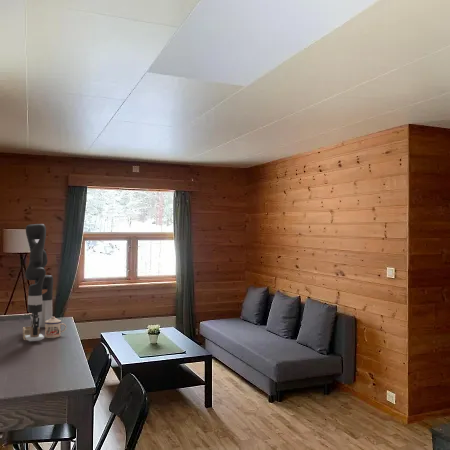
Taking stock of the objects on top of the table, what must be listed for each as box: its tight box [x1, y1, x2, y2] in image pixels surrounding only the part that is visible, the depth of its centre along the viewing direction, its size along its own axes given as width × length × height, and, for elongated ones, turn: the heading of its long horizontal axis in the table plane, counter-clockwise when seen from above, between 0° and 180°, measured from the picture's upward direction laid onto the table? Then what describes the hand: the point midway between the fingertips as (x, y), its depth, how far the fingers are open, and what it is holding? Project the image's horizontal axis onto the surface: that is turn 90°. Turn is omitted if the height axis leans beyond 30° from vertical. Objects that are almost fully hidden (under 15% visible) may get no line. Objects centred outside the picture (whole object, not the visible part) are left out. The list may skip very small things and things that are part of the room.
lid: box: [25, 326, 45, 342], centre depth 259 cm, size 9×9×7 cm
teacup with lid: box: [44, 316, 67, 339], centre depth 275 cm, size 12×9×12 cm
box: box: [22, 326, 41, 341], centre depth 270 cm, size 8×8×6 cm
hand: (34, 334), depth 259 cm, fingers closed on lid, 3 cm apart
